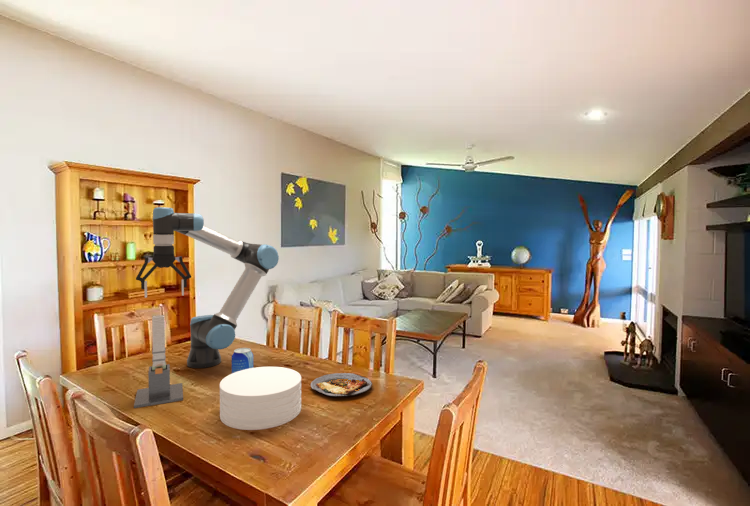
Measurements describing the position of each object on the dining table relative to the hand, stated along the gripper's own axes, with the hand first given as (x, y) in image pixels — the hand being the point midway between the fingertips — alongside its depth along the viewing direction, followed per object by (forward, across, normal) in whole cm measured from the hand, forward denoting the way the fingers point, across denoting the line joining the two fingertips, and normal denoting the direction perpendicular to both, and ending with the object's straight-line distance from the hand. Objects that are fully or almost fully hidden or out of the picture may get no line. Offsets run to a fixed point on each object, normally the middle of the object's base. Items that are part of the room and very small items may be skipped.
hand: (164, 296), depth 166 cm
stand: (+37, +2, +14) cm, 39 cm away
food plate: (+37, -65, +36) cm, 83 cm away
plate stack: (+37, -31, +43) cm, 65 cm away
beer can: (+37, -28, +20) cm, 50 cm away
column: (+27, +2, +14) cm, 31 cm away
